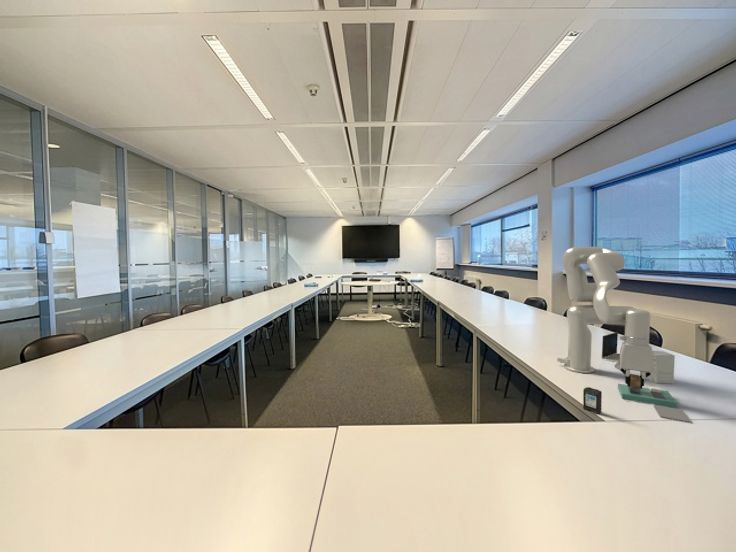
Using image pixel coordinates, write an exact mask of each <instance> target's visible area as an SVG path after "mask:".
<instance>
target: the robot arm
mask: <svg viewBox="0 0 736 552" xmlns="http://www.w3.org/2000/svg"><path fill="white" fill-rule="evenodd" d="M625 264H626V262H625V258H624V256H623V255H622V254H621V253H619V252H617V251H614V250H611V249H609V248H606V247H602V246H575V247H570V248H568V249H566V250H565V251H564V254H563V255H562V266H563V269H564V272H565V274H566V275H565V276H566V284H567V285H566V286H567V293H568V294H567V295H568V298H569V300H570V301H571V302H574V303H589V304H576V305H575V304H574V305H572V306H570V307H569V308H568V309H567V311H566V319H567V325H568V348H567V357H564V358H561V357H557V359H556V361H557V362H560V363H559V364H564V365H563V367H564V368H565V369H566V370H568V371H571V372H575V373H582V374H590V373H594V372H595V368H594V366H591V365H592V359H591V358H592V338H593V337H592V335H593V334H592V332H591V330H590V328H589V327H588V325H589V326H590V325H603V324H604V325H624V334H623V335H622V336H619V341H620V340H621V341H623V342H621V346H620V350H619V354H620V356H619V361H618V362H615V364H614V368H615V369H617V370H618V371H620V372H621V373H622V374H623V375H625V377H624V378H625V379H624V383H625V385H627V386H628V387H630V381H631V377H630V374H631V371H635V372H636V371H637V372H639V373H640V374H639V376H640V378H641V384H640V389H642V387H645V380H646V379H647V378H646V377H648V376H650V375H653V374H656V373H657V371H656V370H655V368H654V366H653V352H652V351H653V347H652V346H651V345H650V333H651V332H650V330H651V313H650V311H648V310H646V309H640V308H635V307H633V306H629V305H622V306H621V305H611V306H610V305H609V303H608V299H607V292H608V291H611V290H613V289H615V288H617V287H618V286H619V285H620V283H621V281H620V278H619V275H618V274H617V272H619V271H621V270H622V269H624V267H625ZM581 265H587V266H588V268H589V270H590V273H591V275H592V278H593V280H594V282H588V276H587V272H586V270H585V269H584V268H583V267H582V266H581Z"/></svg>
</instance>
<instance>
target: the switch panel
mask: <svg viewBox="0 0 736 552" xmlns="http://www.w3.org/2000/svg"><path fill="white" fill-rule="evenodd" d="M617 390H618V392H619V395H620V398H621V399H622V400H627V401H633V402H639V403H645V404H652V405H657V406H663V407H669V408H674V409H678V402H677V401H676V399H675V398H674V397H673V395H672V394H671V393H670V391H669V390H664V389H663V390H662V389H661V393H658V392H652V391H650V387H645V386H642V389H640V393H635V392H630V390H629V388H628V386H627V384H624V383H623V384H622V383H617Z"/></svg>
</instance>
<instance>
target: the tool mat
mask: <svg viewBox="0 0 736 552" xmlns="http://www.w3.org/2000/svg"><path fill="white" fill-rule="evenodd" d="M652 405H653V408H654V410H655V411H656V412H657V414H658V416H659V418H662V419H667V420H672V419H673V421H678V420H679V422H683V421H685V423H689V422H691V423H690V424H693V421H692V420H691V419H690V418H689V416H688V415H687V414H686V413H685V411H684V410H683V409H679V408H673V407H668V406H662V405H656V404H652Z"/></svg>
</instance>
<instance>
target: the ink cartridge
mask: <svg viewBox="0 0 736 552" xmlns="http://www.w3.org/2000/svg"><path fill="white" fill-rule="evenodd" d="M582 393H583V396H582V397H583V398H582V399H583V400H582V402H583V403H582V405H583V408H582V409H583V410H585V411H587V412H590V413H593V414H597V415H598V414H600V413H602V390H599V389H597V388H593V387H590V386H587V387H584V388H583V392H582Z"/></svg>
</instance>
